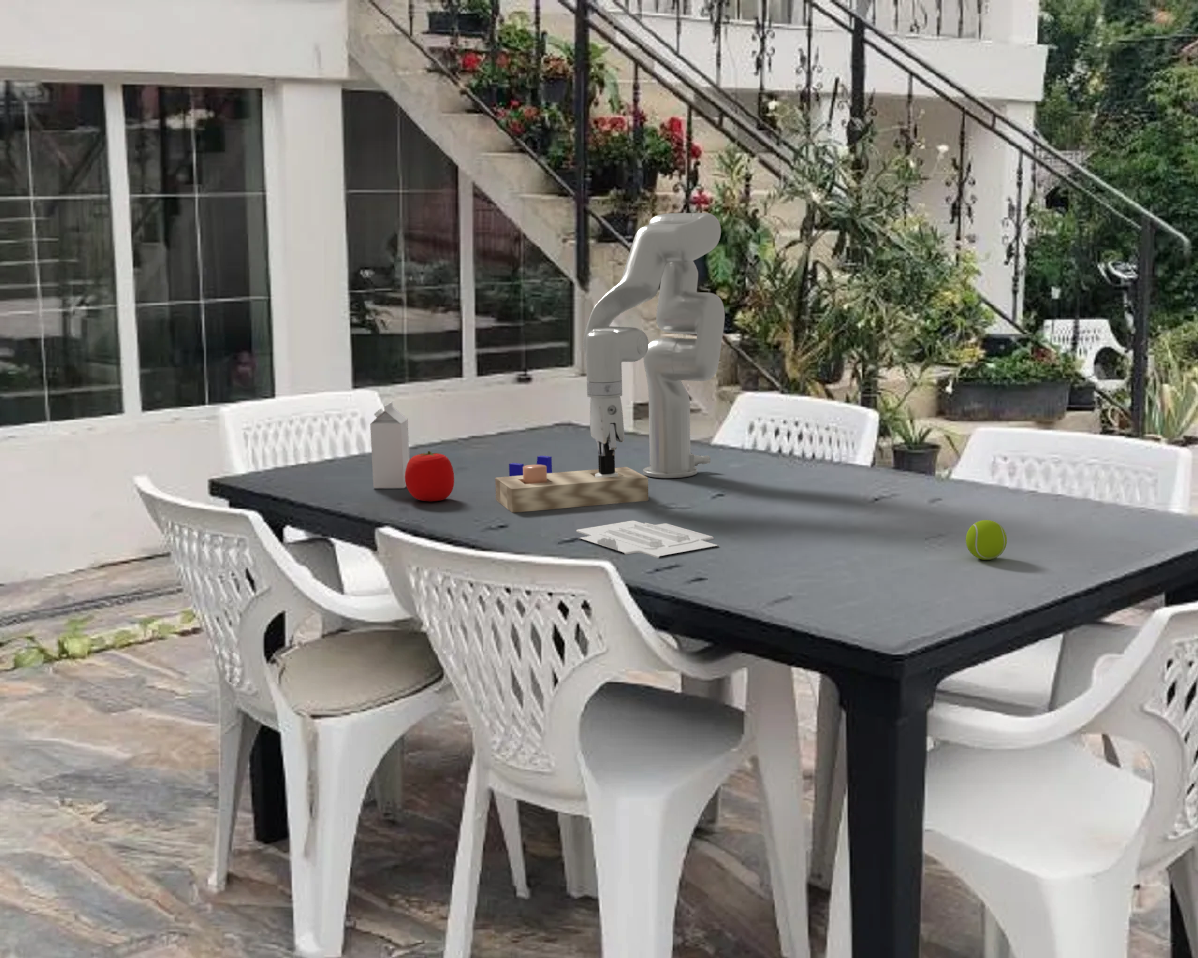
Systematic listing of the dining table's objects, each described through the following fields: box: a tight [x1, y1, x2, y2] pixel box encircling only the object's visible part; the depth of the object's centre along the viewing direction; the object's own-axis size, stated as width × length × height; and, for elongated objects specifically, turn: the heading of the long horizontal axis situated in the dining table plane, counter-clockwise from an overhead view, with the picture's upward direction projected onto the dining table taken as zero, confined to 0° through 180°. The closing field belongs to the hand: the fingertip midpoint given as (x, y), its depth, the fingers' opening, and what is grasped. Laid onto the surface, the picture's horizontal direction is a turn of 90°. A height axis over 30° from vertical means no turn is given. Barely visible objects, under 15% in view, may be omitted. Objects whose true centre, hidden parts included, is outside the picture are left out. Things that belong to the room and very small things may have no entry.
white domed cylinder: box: [595, 473, 618, 478], centre depth 329 cm, size 5×5×5 cm
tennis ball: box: [965, 519, 1008, 561], centre depth 267 cm, size 7×7×7 cm
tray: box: [576, 520, 720, 559], centre depth 289 cm, size 20×28×4 cm
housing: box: [494, 466, 649, 513], centre depth 327 cm, size 30×14×5 cm, turn 108°
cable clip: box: [508, 455, 553, 477], centre depth 345 cm, size 12×4×6 cm, turn 145°
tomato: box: [405, 450, 455, 502], centre depth 330 cm, size 10×11×11 cm
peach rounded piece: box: [523, 464, 547, 484], centre depth 324 cm, size 5×5×5 cm
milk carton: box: [369, 401, 411, 489], centre depth 347 cm, size 7×7×19 cm
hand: (606, 473), depth 329 cm, fingers closed
